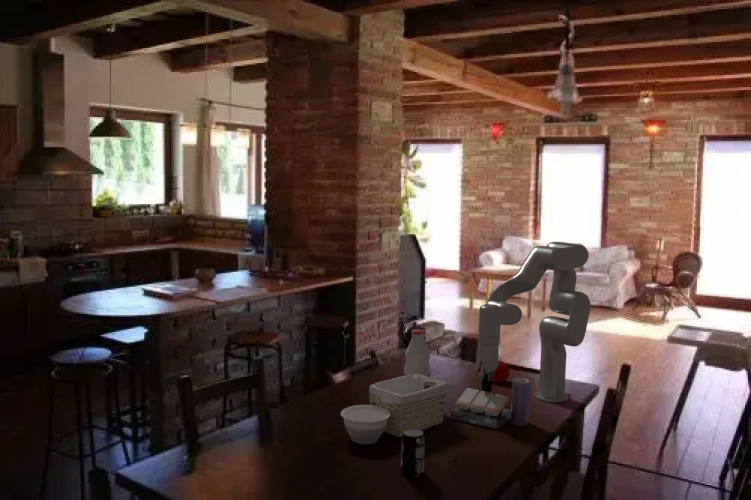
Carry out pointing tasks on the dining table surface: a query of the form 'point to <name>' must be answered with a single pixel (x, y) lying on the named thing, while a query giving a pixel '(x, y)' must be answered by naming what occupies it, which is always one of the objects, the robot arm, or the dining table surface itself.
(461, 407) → the rocker
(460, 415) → the switch unit
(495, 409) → the rocker
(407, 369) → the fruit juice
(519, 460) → the dining table surface
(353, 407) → the bowl
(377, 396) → the storage basket
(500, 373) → the fruit
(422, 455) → the beverage can
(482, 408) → the rocker
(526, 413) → the beverage can
